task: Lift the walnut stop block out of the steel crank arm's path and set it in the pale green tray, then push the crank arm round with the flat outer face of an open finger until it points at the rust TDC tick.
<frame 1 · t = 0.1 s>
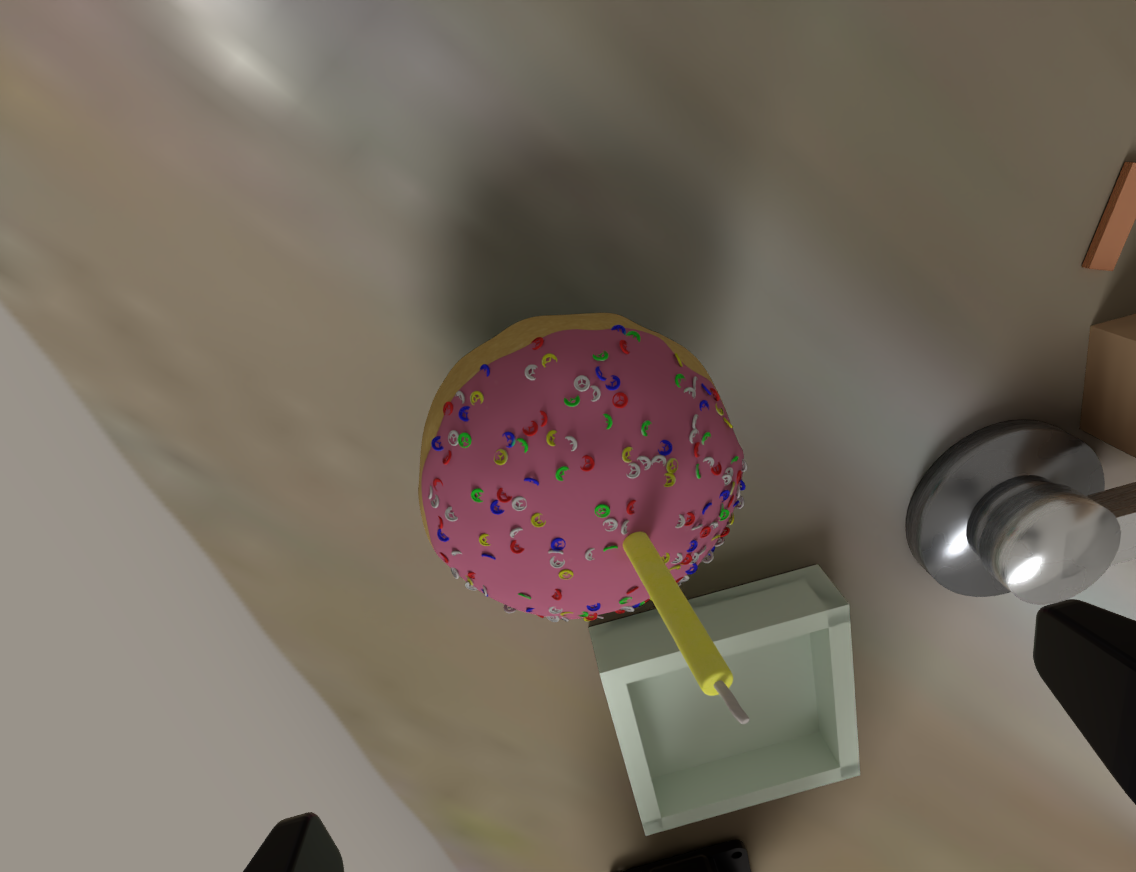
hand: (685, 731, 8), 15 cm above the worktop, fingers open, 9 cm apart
cupcake: (558, 409, 23), on the worktop
tray: (719, 681, 28), on the worktop
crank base: (994, 504, 26), on the worktop
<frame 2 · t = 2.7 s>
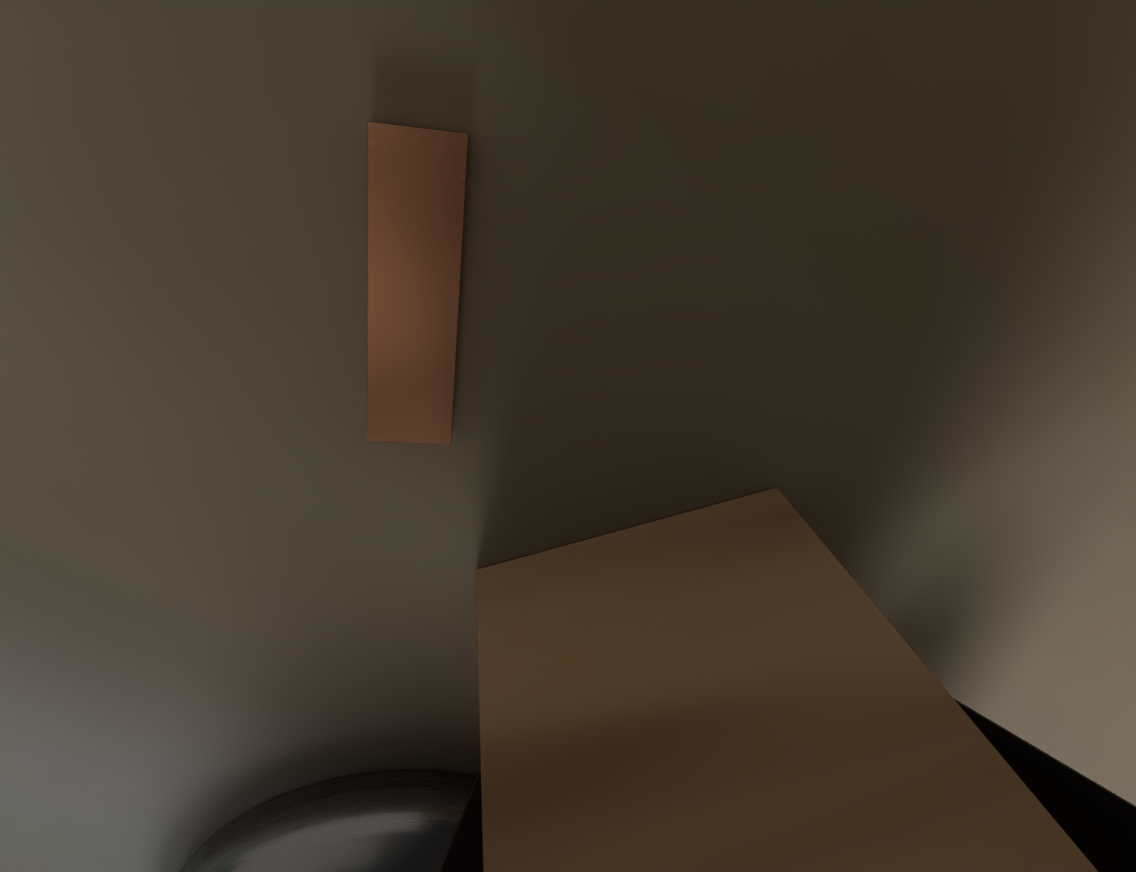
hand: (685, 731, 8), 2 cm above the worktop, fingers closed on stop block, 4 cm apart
stop block: (654, 644, 10), on the worktop, touching gripper
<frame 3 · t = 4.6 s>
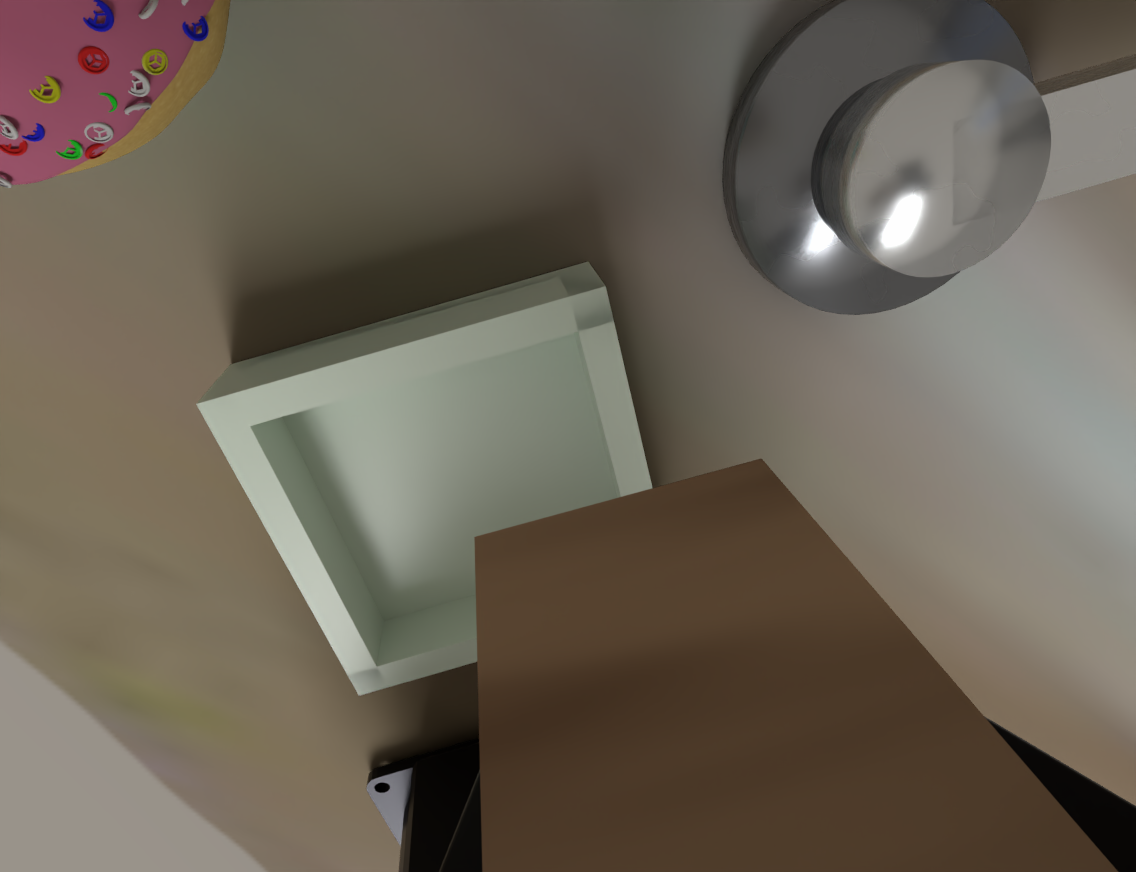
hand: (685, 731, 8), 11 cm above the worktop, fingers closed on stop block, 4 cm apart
tray: (467, 468, 19), on the worktop
crank: (1099, 128, 14), point 3 cm above the worktop, hinge at 0.0°
stop block: (645, 611, 10), point 9 cm above the worktop, touching gripper
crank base: (864, 160, 17), on the worktop
when the fingers open (4 cm above the worktop, at t = 6.6 s): stop block stays where it is, resting on tray.
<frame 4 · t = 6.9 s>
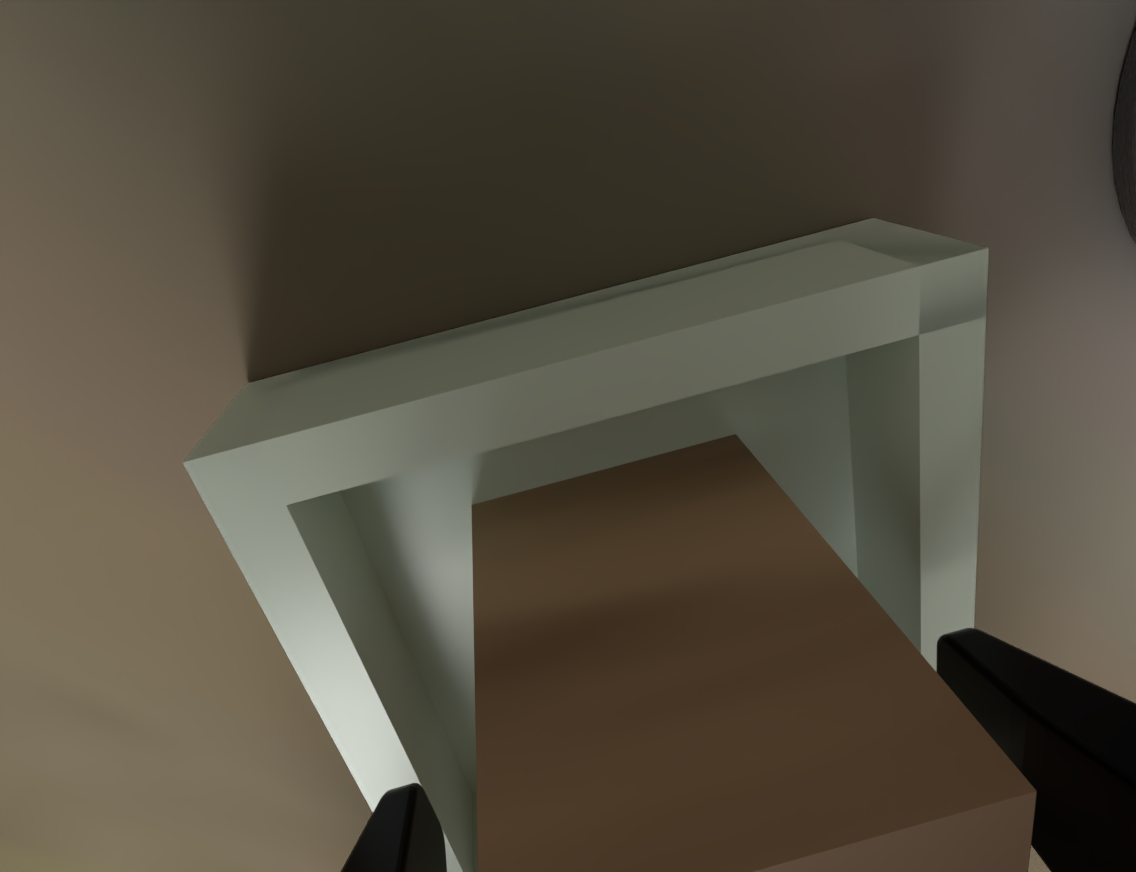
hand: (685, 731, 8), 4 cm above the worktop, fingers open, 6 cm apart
tray: (624, 558, 12), on the worktop
stop block: (629, 576, 11), point 1 cm above the worktop, touching tray
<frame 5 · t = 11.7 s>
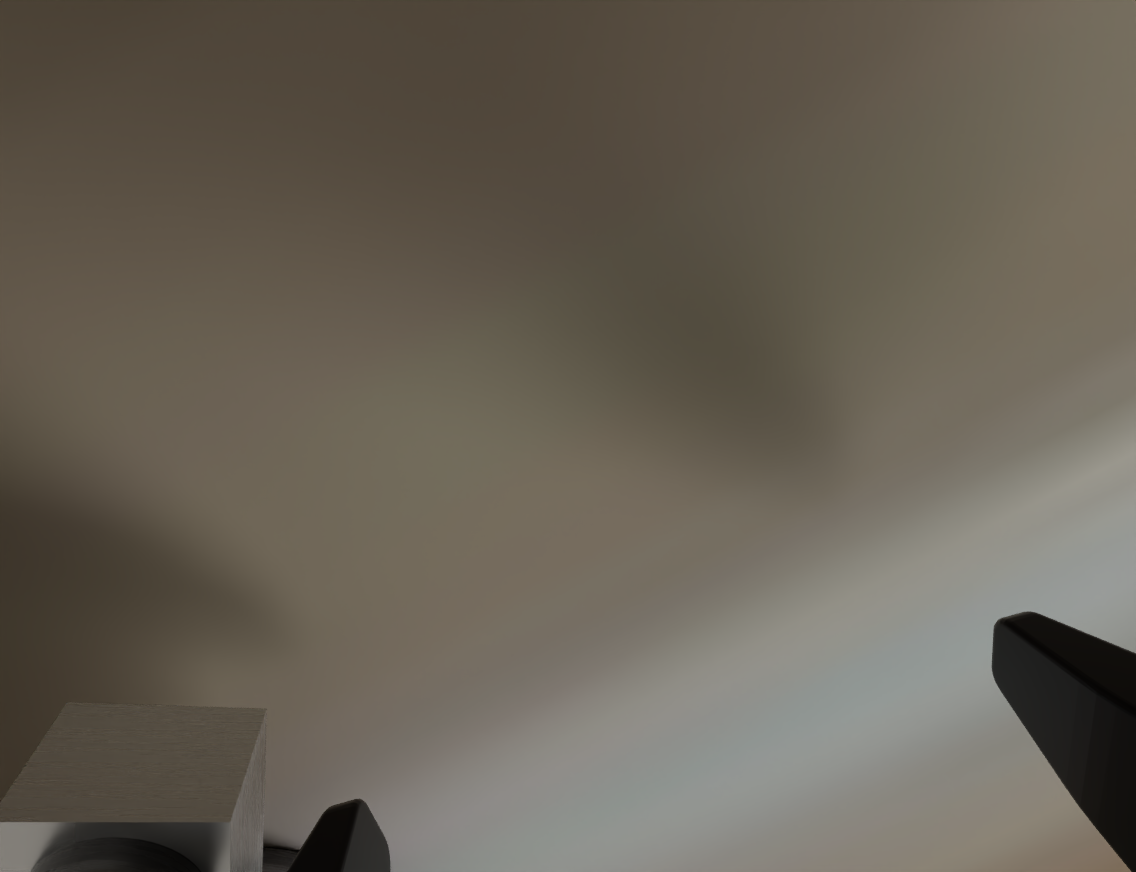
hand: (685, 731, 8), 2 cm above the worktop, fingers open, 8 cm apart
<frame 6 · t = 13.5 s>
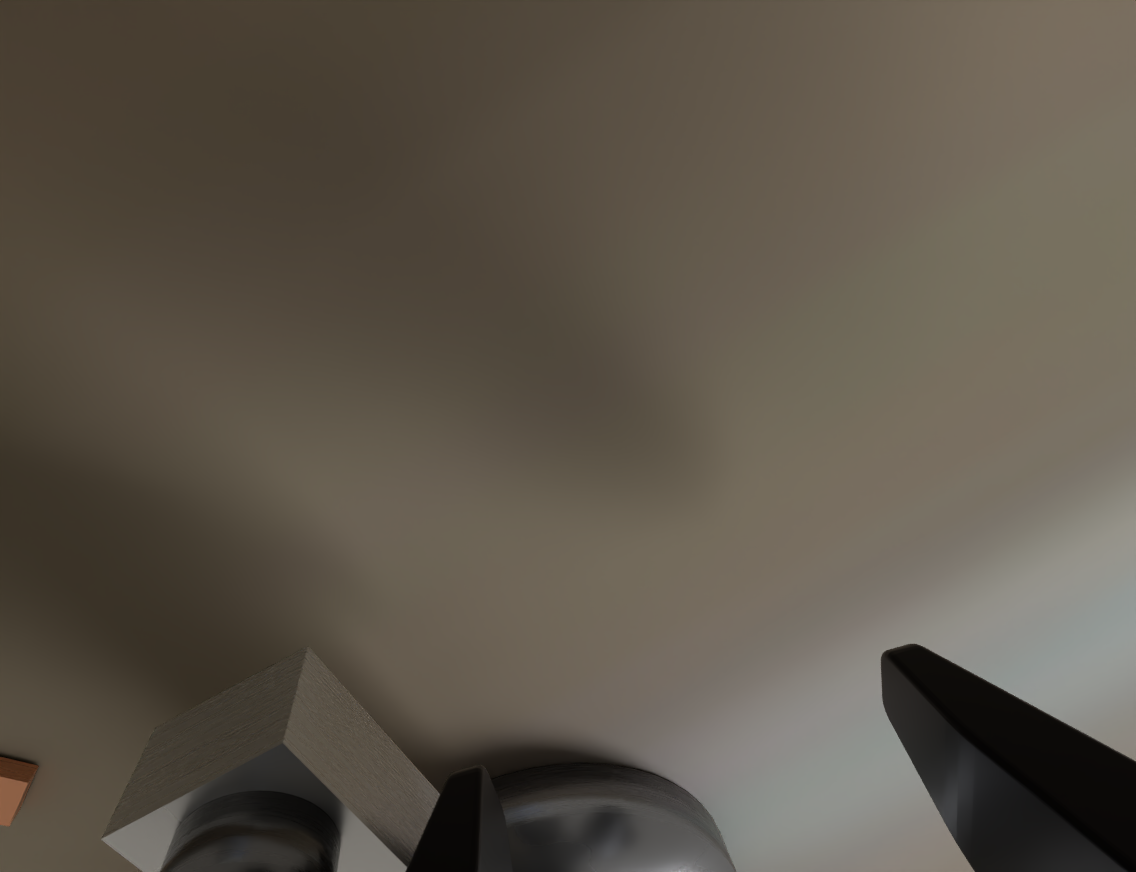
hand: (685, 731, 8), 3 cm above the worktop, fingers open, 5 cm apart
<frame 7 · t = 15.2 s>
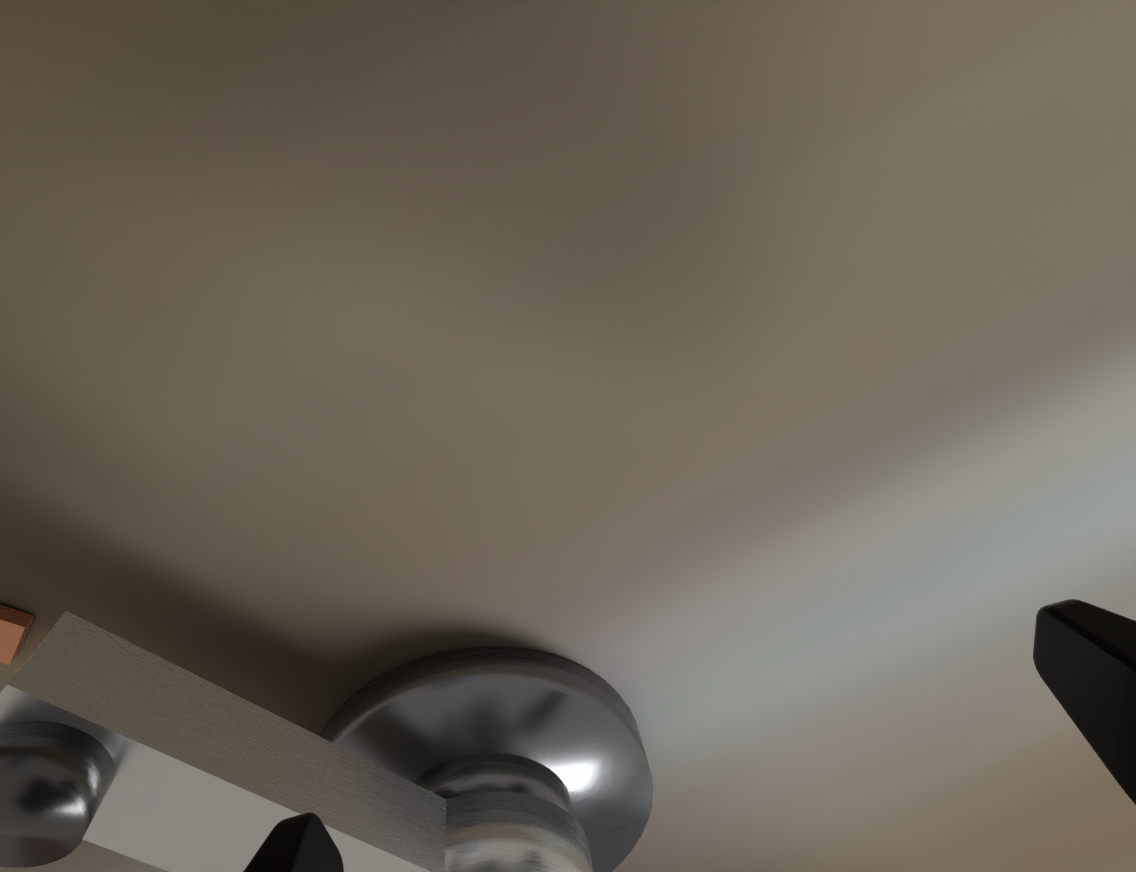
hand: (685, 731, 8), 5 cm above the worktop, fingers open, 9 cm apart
crank: (327, 860, 11), point 3 cm above the worktop, hinge at 58.3°
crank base: (481, 775, 15), on the worktop
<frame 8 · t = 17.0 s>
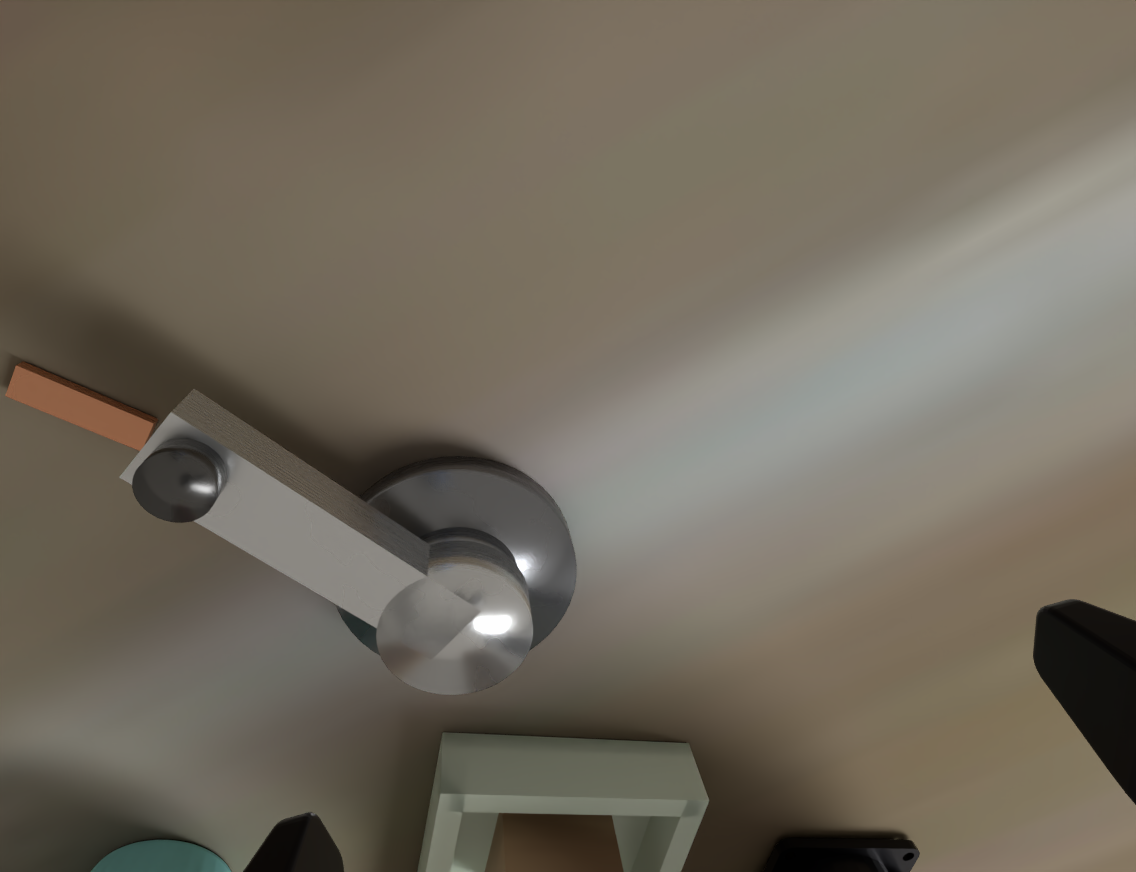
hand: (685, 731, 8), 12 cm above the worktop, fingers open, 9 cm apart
tray: (546, 825, 27), on the worktop
crank: (352, 564, 17), point 3 cm above the worktop, hinge at 58.3°
stop block: (545, 840, 26), point 1 cm above the worktop, touching tray
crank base: (457, 560, 21), on the worktop
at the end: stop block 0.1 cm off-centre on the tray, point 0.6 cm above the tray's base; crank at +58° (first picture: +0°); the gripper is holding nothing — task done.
